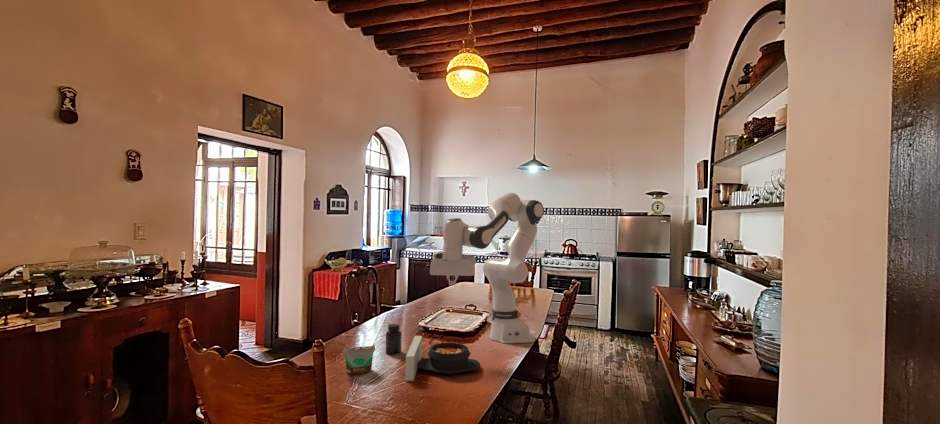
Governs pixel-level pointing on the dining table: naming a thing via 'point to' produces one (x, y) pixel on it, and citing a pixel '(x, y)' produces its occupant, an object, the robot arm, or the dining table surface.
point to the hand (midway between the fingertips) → (452, 285)
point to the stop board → (413, 358)
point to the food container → (359, 360)
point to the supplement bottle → (393, 340)
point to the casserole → (449, 359)
